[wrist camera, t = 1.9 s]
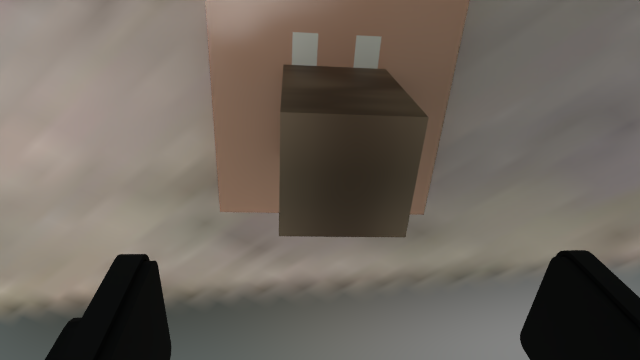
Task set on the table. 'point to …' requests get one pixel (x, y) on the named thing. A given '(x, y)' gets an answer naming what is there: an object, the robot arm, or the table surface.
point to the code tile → (318, 50)
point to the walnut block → (347, 152)
